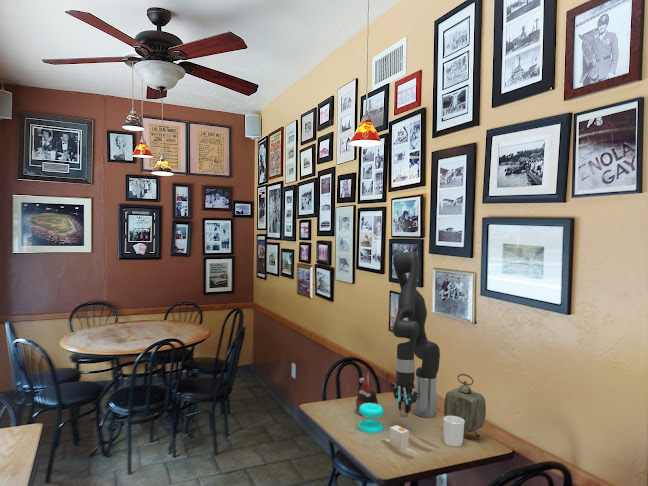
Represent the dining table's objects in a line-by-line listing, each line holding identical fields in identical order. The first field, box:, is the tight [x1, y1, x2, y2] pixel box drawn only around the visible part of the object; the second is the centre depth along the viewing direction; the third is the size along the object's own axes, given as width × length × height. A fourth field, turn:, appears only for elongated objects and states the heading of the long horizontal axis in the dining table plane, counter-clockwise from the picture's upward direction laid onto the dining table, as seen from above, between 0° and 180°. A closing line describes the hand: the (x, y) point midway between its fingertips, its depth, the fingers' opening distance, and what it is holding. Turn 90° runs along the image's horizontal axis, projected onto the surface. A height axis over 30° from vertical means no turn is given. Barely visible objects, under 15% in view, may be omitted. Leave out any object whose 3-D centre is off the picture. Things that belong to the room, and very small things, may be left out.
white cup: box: [442, 416, 465, 447], centre depth 170 cm, size 8×8×10 cm
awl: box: [400, 398, 409, 419], centre depth 180 cm, size 3×3×9 cm
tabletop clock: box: [443, 373, 487, 439], centre depth 179 cm, size 14×9×25 cm, turn 43°
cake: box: [355, 372, 379, 415], centre depth 199 cm, size 11×9×18 cm
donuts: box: [358, 403, 385, 434], centre depth 180 cm, size 10×10×10 cm
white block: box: [388, 425, 410, 449], centre depth 165 cm, size 4×6×7 cm, turn 38°
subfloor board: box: [375, 432, 440, 461], centre depth 166 cm, size 18×16×1 cm
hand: (404, 411), depth 180 cm, fingers closed on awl, 2 cm apart
